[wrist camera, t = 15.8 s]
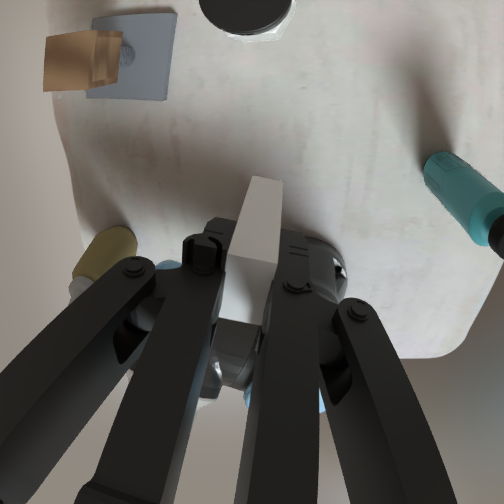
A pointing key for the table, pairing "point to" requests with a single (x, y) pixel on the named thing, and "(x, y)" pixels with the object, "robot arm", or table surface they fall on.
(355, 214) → the table surface
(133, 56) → the post
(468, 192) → the beverage bottle
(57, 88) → the brown wooden cube
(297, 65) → the table surface
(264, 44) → the table surface
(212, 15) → the jar
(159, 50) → the base plate
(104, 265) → the squeeze bottle
